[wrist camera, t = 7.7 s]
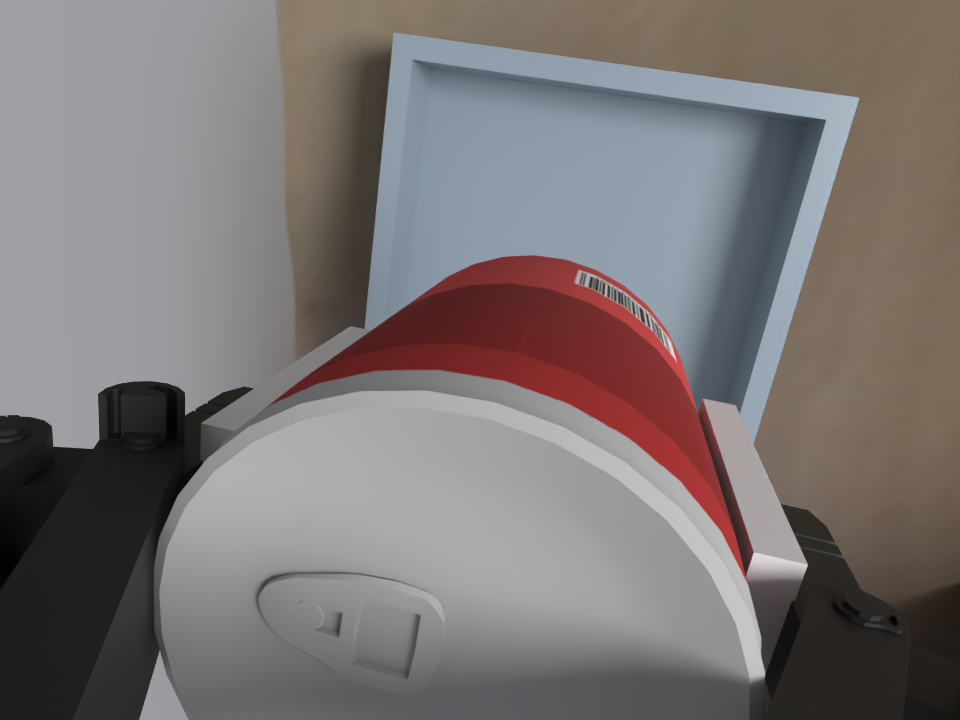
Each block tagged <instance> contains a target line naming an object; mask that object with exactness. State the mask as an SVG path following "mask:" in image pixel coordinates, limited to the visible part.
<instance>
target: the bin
mask: <svg viewBox="0 0 960 720" xmlns="http://www.w3.org/2000/svg"><path fill="white" fill-rule="evenodd" d="M858 101H859V98H858V97H850V96H843V95H836V94H829V93H822V92H815V91H808V90H800V89H793V88H786V87H779V86H772V85H765V84H758V83H750V82H743V81H736V80H729V79H722V78H715V77H708V76H701V75H693V74H686V73H679V72H672V71H665V70H658V69H651V68H643V67H636V66H629V65H622V64H615V63H608V62H601V61H594V60H586V59H579V58H572V57H565V56H558V55H551V54H544V53H536V52H529V51H522V50H515V49H508V48H501V47H494V46H487V45H479V44H472V43H465V42H458V41H451V40H444V39H437V38H429V37H422V36H415V35H408V34H401V33H394V35H393V45H392V55H391V65H390V75H389V85H388V95H387V105H386V116H385V126H384V136H383V146H382V156H381V166H380V176H379V186H378V197H377V207H376V217H375V227H374V237H373V247H372V257H371V268H370V278H369V288H368V298H367V308H366V318H365V328H364V329H367V330H373V329H374V328H375V327H377V326H378V325H380V324H381V323H383V322H384V321H385V320H387V319H388V318H390V317H391V316H392V315H394V314H395V313H397V312H398V311H400V310H401V309H402V308H404V307H405V306H407V305H408V304H409V303H411V302H412V301H414V300H415V299H417V298H418V297H419V296H421V295H422V294H424V293H425V292H426V291H428V290H429V289H431V288H432V287H434V286H435V285H436V284H438V283H439V282H441V281H442V280H443V279H445V278H446V277H448V276H450V275H452V274H454V273H456V272H458V271H460V270H462V269H465V268H467V267H469V266H471V265H473V264H476V263H480V262H484V261H488V260H492V259H496V258H500V257H508V256H527V255H537V256H544V257H551V258H558V259H566V260H569V261H572V262H575V263H578V264H581V265H583V266H586V267H589V268H592V269H595V270H597V271H599V272H601V273H603V274H604V275H606V276H608V277H610V278H612V279H613V280H615V281H617V282H619V283H620V284H622V285H624V286H625V287H626V288H627V289H629V290H630V291H631V292H632V293H633V294H635V295H636V296H637V297H638V298H639V299H640V300H642V301H643V302H644V303H645V304H646V305H647V306H648V307H649V308H650V309H651V310H652V312H653V313H654V314H655V316H656V317H657V318H658V319H659V321H660V322H661V323H662V324H663V326H664V327H665V328H666V330H667V331H668V333H669V335H670V337H671V339H672V341H673V343H674V345H675V347H676V349H677V351H678V353H679V355H680V358H681V361H682V364H683V368H684V371H685V374H686V377H687V381H688V384H689V387H690V390H691V393H692V397H693V400H694V403H695V406H696V410H697V413H698V414H699V410H700V407H701V403H702V399H708V400H713V401H717V402H722V403H727V404H732V405H736V407H737V409H738V412H739V414H740V416H741V418H742V420H743V423H744V425H745V427H746V429H747V431H748V434H749V436H750V438H751V440H752V443H753V444H754V441H755V437H756V434H757V431H758V428H759V424H760V421H761V418H762V414H763V411H764V408H765V405H766V401H767V398H768V395H769V392H770V388H771V385H772V382H773V379H774V375H775V372H776V369H777V365H778V362H779V359H780V356H781V352H782V349H783V346H784V343H785V339H786V336H787V333H788V330H789V326H790V323H791V320H792V316H793V313H794V310H795V307H796V303H797V300H798V297H799V294H800V290H801V287H802V284H803V281H804V277H805V274H806V271H807V267H808V264H809V261H810V258H811V254H812V251H813V248H814V245H815V241H816V238H817V235H818V232H819V228H820V225H821V222H822V218H823V215H824V212H825V209H826V205H827V202H828V199H829V196H830V192H831V189H832V186H833V183H834V179H835V176H836V173H837V169H838V166H839V163H840V160H841V156H842V153H843V150H844V147H845V143H846V140H847V137H848V134H849V130H850V127H851V124H852V120H853V117H854V114H855V111H856V107H857V104H858Z"/></svg>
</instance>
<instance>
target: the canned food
mask: <svg viewBox="0 0 960 720" xmlns="http://www.w3.org/2000/svg"><path fill="white" fill-rule="evenodd" d="M154 630H155V634H156V637H157V641H158V645H159V648H160V652H161V656H162V659H163V663H164V666H165V670H166V674H167V676H168V678H169V680H170V682H171V684H172V686H173V688H174V690H175V692H176V695H177V696H178V699H179V700H180V703H181V705H182V707H183V709H184V711H185V713H186V715H187V717H188V719H189V720H764V705H765V670H764V666H763V662H762V658H761V635H760V631H759V626H758V622H757V618H756V614H755V610H754V606H753V602H752V598H751V594H750V590H749V586H748V582H747V579H746V575H745V572H744V568H743V564H742V560H741V556H740V552H739V548H738V544H737V539H736V535H735V532H734V529H733V526H732V522H731V519H730V516H729V513H728V510H727V506H726V503H725V500H724V497H723V493H722V490H721V487H720V484H719V480H718V477H717V474H716V471H715V468H714V464H713V461H712V458H711V455H710V451H709V448H708V445H707V442H706V439H705V435H704V432H703V429H702V426H701V422H700V419H699V416H698V413H697V410H696V406H695V403H694V400H693V397H692V393H691V390H690V387H689V384H688V381H687V377H686V374H685V371H684V368H683V364H682V361H681V358H680V355H679V353H678V351H677V349H676V347H675V345H674V343H673V341H672V339H671V337H670V335H669V333H668V331H667V330H666V328H665V327H664V326H663V324H662V323H661V322H660V321H659V319H658V318H657V317H656V316H655V314H654V313H653V312H652V310H651V309H650V308H649V307H648V306H647V305H646V304H645V303H644V302H643V301H642V300H640V299H639V298H638V297H637V296H636V295H635V294H633V293H632V292H631V291H630V290H629V289H627V288H626V287H625V286H624V285H622V284H620V283H619V282H617V281H615V280H613V279H612V278H610V277H608V276H606V275H604V274H603V273H601V272H599V271H597V270H595V269H592V268H589V267H586V266H583V265H581V264H578V263H575V262H572V261H569V260H566V259H558V258H551V257H544V256H537V255H527V256H508V257H500V258H496V259H492V260H488V261H484V262H480V263H476V264H473V265H471V266H469V267H467V268H465V269H462V270H460V271H458V272H456V273H454V274H452V275H450V276H448V277H446V278H445V279H443V280H442V281H441V282H439V283H438V284H436V285H435V286H434V287H432V288H431V289H429V290H428V291H426V292H425V293H424V294H422V295H421V296H419V297H418V298H417V299H415V300H414V301H412V302H411V303H409V304H408V305H407V306H405V307H404V308H402V309H401V310H400V311H398V312H397V313H395V314H394V315H392V316H391V317H390V318H388V319H387V320H385V321H384V322H383V323H381V324H380V325H378V326H377V327H375V328H374V329H373V330H371V331H370V332H368V333H367V334H366V335H364V336H363V337H361V338H360V339H358V340H357V341H356V342H354V343H353V344H351V345H350V346H349V347H347V348H346V349H344V350H343V351H341V352H340V353H339V354H337V355H336V356H334V357H333V358H332V359H330V360H329V361H327V362H326V363H324V364H323V365H322V366H320V367H319V368H317V369H316V370H315V371H313V372H312V373H310V374H309V375H307V376H306V377H305V378H303V379H302V380H301V381H299V382H298V383H297V384H295V385H294V386H293V387H292V388H290V389H289V390H288V391H286V392H285V393H284V394H282V395H281V396H280V397H279V398H277V399H276V400H275V401H273V402H272V403H271V404H269V405H268V406H267V407H266V408H265V409H263V410H262V411H261V412H260V413H258V414H257V415H256V416H254V417H253V418H252V419H250V420H249V421H248V422H247V423H245V424H244V425H243V426H241V427H240V428H239V429H237V430H236V431H235V432H233V433H232V434H231V435H230V436H228V438H227V439H226V440H225V441H224V443H223V444H222V445H221V446H220V448H219V449H218V450H217V451H216V452H215V453H214V454H212V455H211V456H210V457H208V458H207V460H206V461H205V462H204V463H203V465H202V466H201V467H200V468H199V470H198V471H197V472H196V473H195V475H194V476H193V477H192V478H191V480H190V481H189V482H188V483H187V485H186V486H185V487H184V488H183V490H182V491H181V492H180V494H179V495H178V496H177V498H176V501H175V503H174V505H173V508H172V510H171V512H170V514H169V517H168V519H167V521H166V523H165V526H164V528H163V530H162V532H161V535H160V537H159V541H158V547H157V553H156V558H155V564H154Z"/></svg>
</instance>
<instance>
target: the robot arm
mask: <svg viewBox="0 0 960 720" xmlns="http://www.w3.org/2000/svg"><path fill="white" fill-rule="evenodd" d="M370 331H371V330H367V329H362V328H357V327H352V326H350V327H348V328H347V329H345V330H344V331H342V332H341V333H339V334H338V335H336V336H334V337H333V338H331V339H330V340H328V341H327V342H325V343H324V344H322V345H321V346H319V347H318V348H316V349H314V350H313V351H311V352H310V353H308V354H307V355H305V356H304V357H302V358H301V359H299V360H298V361H296V362H294V363H293V364H291V365H290V366H288V367H287V368H285V369H284V370H282V371H281V372H279V373H278V374H276V375H274V376H273V377H271V378H270V379H268V380H267V381H265V382H264V383H262V384H261V385H259V386H258V387H256V388H255V389H253V388H249V387H241V388H238V389H234V390H230V391H227V392H223V393H221V394H220V395H218V396H216V397H215V398H213V399H211V400H210V401H208V404H204V405H202V406H200V407H198V408H197V409H196V411H192V412H190V413H189V414H187V415H185V393H184V392H183V391H182V390H181V389H180V388H178V387H176V386H173V385H170V384H167V383H160V382H151V381H148V382H147V381H143V382H129V383H122V384H117V385H114V386H112V387H108V388H106V389H104V390H103V391H102V392H100V393H99V394H98V403H99V404H98V405H99V436H100V440H99V441H98V443H97V444H96V446H95V447H94V449H82V448H65V447H53V438H52V426H51V425H50V424H48V423H47V422H45V421H44V420H40V419H36V418H32V417H20V416H18V415H8V417H5V416H0V720H139V718H140V715H141V711H142V708H143V705H144V701H145V698H146V695H147V691H148V688H149V684H150V681H151V678H152V674H153V671H154V668H155V664H156V661H157V657H158V654H159V651H160V648H159V645H158V641H157V637H156V634H155V630H154V564H155V558H156V553H157V547H158V541H159V537H160V535H161V532H162V530H163V528H164V526H165V523H166V521H167V519H168V517H169V514H170V512H171V510H172V508H173V505H174V503H175V501H176V498H177V496H178V495H179V494H180V492H181V491H182V490H183V488H184V487H185V486H186V485H187V483H188V482H189V481H190V480H191V478H192V477H193V476H194V475H195V473H196V472H197V471H198V470H199V468H200V467H201V466H202V465H203V463H204V462H205V461H206V460H207V458H208V457H210V456H211V455H212V454H214V453H215V452H216V451H217V450H218V449H219V448H220V446H221V445H222V444H223V443H224V441H225V440H226V439H227V438H228V436H230V435H231V434H232V433H233V432H235V431H236V430H237V429H239V428H240V427H241V426H243V425H244V424H245V423H247V422H248V421H249V420H250V419H252V418H253V417H254V416H256V415H257V414H258V413H260V412H261V411H262V410H263V409H265V408H266V407H267V406H268V405H269V404H271V403H272V402H273V401H275V400H276V399H277V398H279V397H280V396H281V395H282V394H284V393H285V392H286V391H288V390H289V389H290V388H292V387H293V386H294V385H295V384H297V383H298V382H299V381H301V380H302V379H303V378H305V377H306V376H307V375H309V374H310V373H312V372H313V371H315V370H316V369H317V368H319V367H320V366H322V365H323V364H324V363H326V362H327V361H329V360H330V359H332V358H333V357H334V356H336V355H337V354H339V353H340V352H341V351H343V350H344V349H346V348H347V347H349V346H350V345H351V344H353V343H354V342H356V341H357V340H358V339H360V338H361V337H363V336H364V335H366V334H367V333H368V332H370ZM698 416H699V419H700V422H701V426H702V429H703V432H704V435H705V439H706V442H707V445H708V448H709V451H710V455H711V458H712V461H713V464H714V468H715V471H716V474H717V477H718V480H719V484H720V487H721V490H722V493H723V497H724V500H725V503H726V506H727V510H728V513H729V516H730V519H731V522H732V526H733V529H734V532H735V535H736V539H737V544H738V548H739V552H740V556H741V560H742V564H743V568H744V572H745V575H746V579H747V582H748V586H749V590H750V594H751V598H752V602H753V606H754V610H755V614H756V618H757V622H758V626H759V631H760V635H761V658H762V662H763V666H764V670H765V683H767V687H768V690H769V694H770V698H771V701H772V702H771V704H770V707H769V710H768V712H767V715H766V718H765V720H960V665H959V664H957V663H955V662H952V661H950V660H947V659H945V658H943V657H940V656H938V655H936V654H933V653H931V652H929V651H927V650H924V649H922V648H920V647H918V646H916V645H914V644H913V643H911V640H912V634H911V630H910V627H909V624H908V623H907V622H906V621H905V620H904V618H903V617H902V616H901V615H900V614H899V613H898V612H897V611H896V610H894V609H893V608H892V607H890V606H889V605H888V604H886V603H885V602H883V601H882V600H880V599H878V598H876V597H874V596H872V595H870V594H868V593H866V592H863V591H862V590H861V589H860V587H859V585H858V583H857V581H856V580H855V578H854V576H853V574H852V572H851V570H850V569H849V567H848V565H847V563H846V561H845V559H842V554H841V552H840V550H839V549H838V547H837V546H836V545H835V541H834V539H833V538H832V536H831V534H830V532H829V530H828V528H827V527H826V526H825V525H824V524H823V523H822V522H821V521H819V520H818V519H817V518H816V517H815V516H814V515H813V514H811V513H810V512H809V511H808V510H804V509H800V508H795V507H791V506H786V505H782V504H780V502H779V500H778V498H777V495H776V493H775V491H774V489H773V487H772V484H771V482H770V480H769V478H768V476H767V473H766V471H765V469H764V467H763V465H762V462H761V460H760V458H759V456H758V454H757V451H756V449H755V447H754V445H753V443H752V440H751V438H750V436H749V434H748V431H747V429H746V427H745V425H744V423H743V420H742V418H741V416H740V414H739V412H738V409H737V407H736V405H732V404H727V403H722V402H717V401H713V400H708V399H702V403H701V407H700V410H699V414H698Z"/></svg>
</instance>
